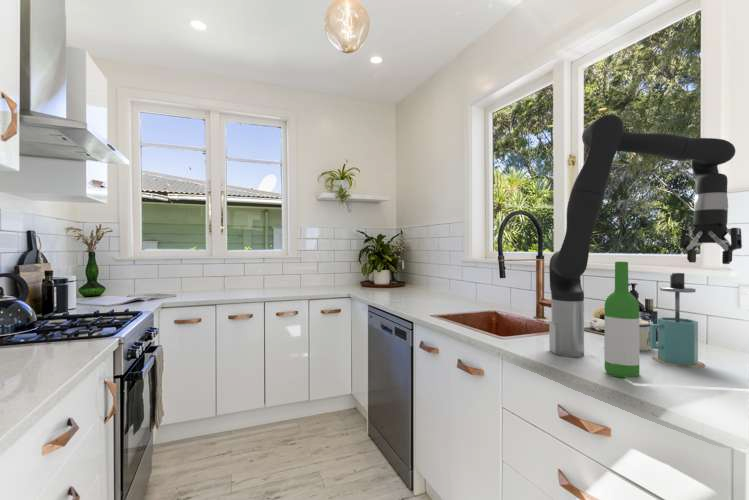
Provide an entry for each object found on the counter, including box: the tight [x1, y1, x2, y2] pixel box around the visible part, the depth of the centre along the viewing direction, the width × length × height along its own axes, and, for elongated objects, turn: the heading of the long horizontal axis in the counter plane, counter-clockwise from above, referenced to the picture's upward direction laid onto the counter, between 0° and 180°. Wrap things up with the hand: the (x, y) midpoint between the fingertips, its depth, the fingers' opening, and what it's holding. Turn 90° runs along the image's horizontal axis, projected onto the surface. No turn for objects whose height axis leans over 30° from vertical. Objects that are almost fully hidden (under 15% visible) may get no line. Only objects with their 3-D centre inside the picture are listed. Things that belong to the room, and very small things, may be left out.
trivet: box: [651, 354, 706, 369], centre depth 107 cm, size 12×12×1 cm
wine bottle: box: [603, 261, 641, 379], centre depth 98 cm, size 8×8×30 cm
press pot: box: [649, 316, 699, 366], centre depth 107 cm, size 11×8×12 cm
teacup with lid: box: [639, 317, 651, 351], centre depth 125 cm, size 12×9×12 cm
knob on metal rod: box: [659, 272, 696, 323], centre depth 107 cm, size 8×8×15 cm
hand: (708, 263), depth 110 cm, fingers open, 8 cm apart
